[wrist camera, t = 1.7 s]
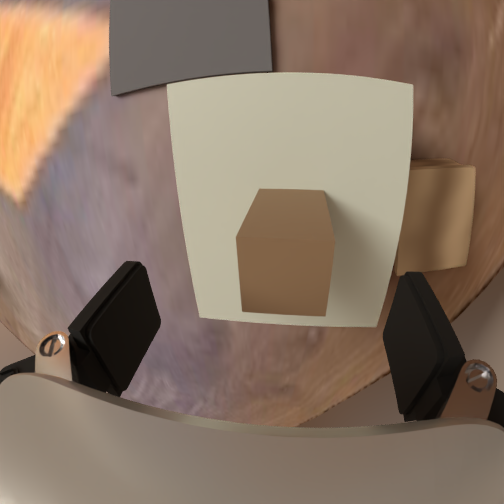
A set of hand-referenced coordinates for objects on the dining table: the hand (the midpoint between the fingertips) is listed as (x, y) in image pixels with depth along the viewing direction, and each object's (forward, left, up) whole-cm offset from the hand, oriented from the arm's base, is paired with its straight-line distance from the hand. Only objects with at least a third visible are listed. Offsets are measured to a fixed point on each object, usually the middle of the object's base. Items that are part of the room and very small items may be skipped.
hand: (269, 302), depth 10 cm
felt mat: (+11, -20, -21) cm, 31 cm away
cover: (0, 0, -21) cm, 21 cm away
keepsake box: (-14, +3, -21) cm, 25 cm away
